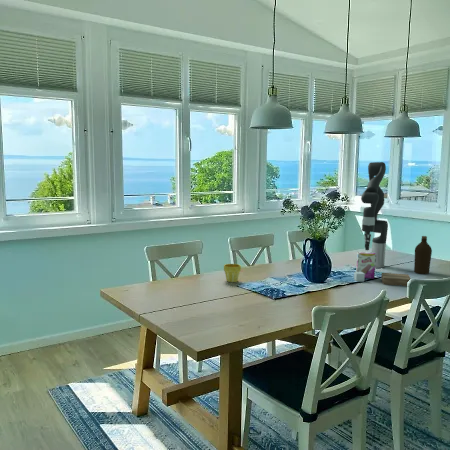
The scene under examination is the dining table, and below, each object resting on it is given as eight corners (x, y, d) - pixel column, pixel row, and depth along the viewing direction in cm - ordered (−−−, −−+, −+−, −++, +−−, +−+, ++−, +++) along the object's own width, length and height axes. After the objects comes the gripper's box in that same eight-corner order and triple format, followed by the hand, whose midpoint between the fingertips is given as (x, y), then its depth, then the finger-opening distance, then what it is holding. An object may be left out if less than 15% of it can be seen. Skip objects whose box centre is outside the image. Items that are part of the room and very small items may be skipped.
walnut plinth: (381, 278, 299) (381, 272, 298) (407, 280, 295) (408, 274, 294) (383, 284, 285) (383, 277, 285) (410, 286, 282) (411, 280, 281)
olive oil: (425, 275, 310) (428, 238, 306) (410, 272, 318) (412, 235, 314) (432, 273, 316) (436, 236, 313) (418, 270, 324) (420, 234, 321)
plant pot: (229, 277, 294) (230, 262, 293) (243, 280, 288) (244, 265, 287) (220, 281, 286) (220, 265, 284) (234, 284, 280) (234, 268, 278)
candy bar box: (356, 278, 299) (358, 253, 297) (355, 276, 304) (357, 251, 302) (374, 278, 298) (376, 253, 296) (373, 276, 303) (374, 252, 301)
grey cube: (353, 279, 296) (354, 271, 295) (361, 279, 296) (362, 271, 295) (356, 281, 291) (356, 273, 290) (364, 281, 291) (364, 273, 290)
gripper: (361, 222, 304) (360, 246, 306) (362, 225, 290) (361, 250, 293) (373, 222, 302) (372, 247, 304) (375, 225, 289) (373, 251, 291)
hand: (366, 249), depth 299 cm, fingers open, 8 cm apart
